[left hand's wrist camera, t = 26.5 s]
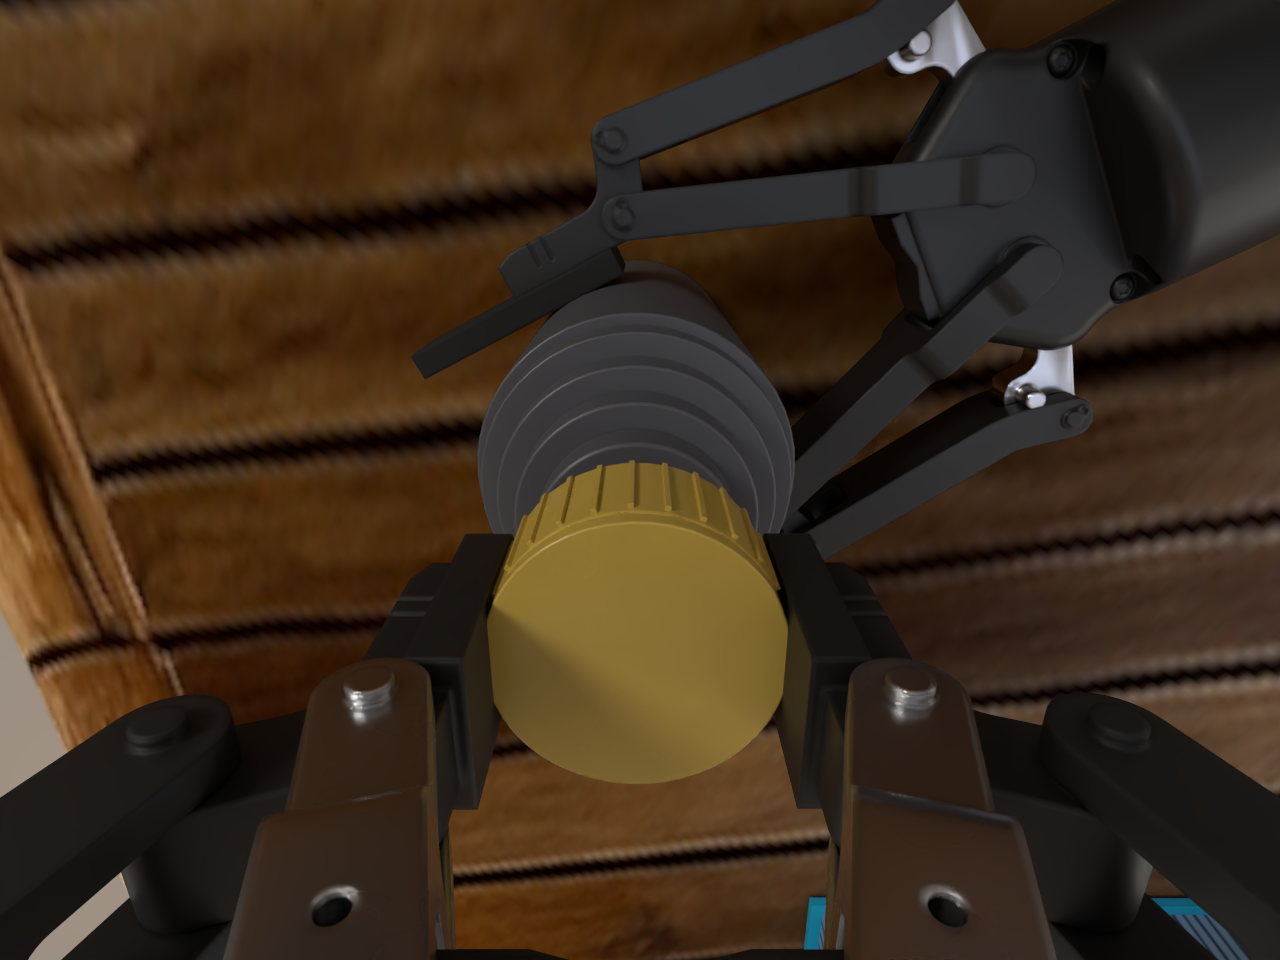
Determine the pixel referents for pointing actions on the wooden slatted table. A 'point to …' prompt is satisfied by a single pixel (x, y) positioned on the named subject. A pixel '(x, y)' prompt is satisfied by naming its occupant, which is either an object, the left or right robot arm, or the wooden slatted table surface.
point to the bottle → (636, 401)
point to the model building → (1179, 909)
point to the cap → (637, 626)
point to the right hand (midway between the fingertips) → (498, 465)
